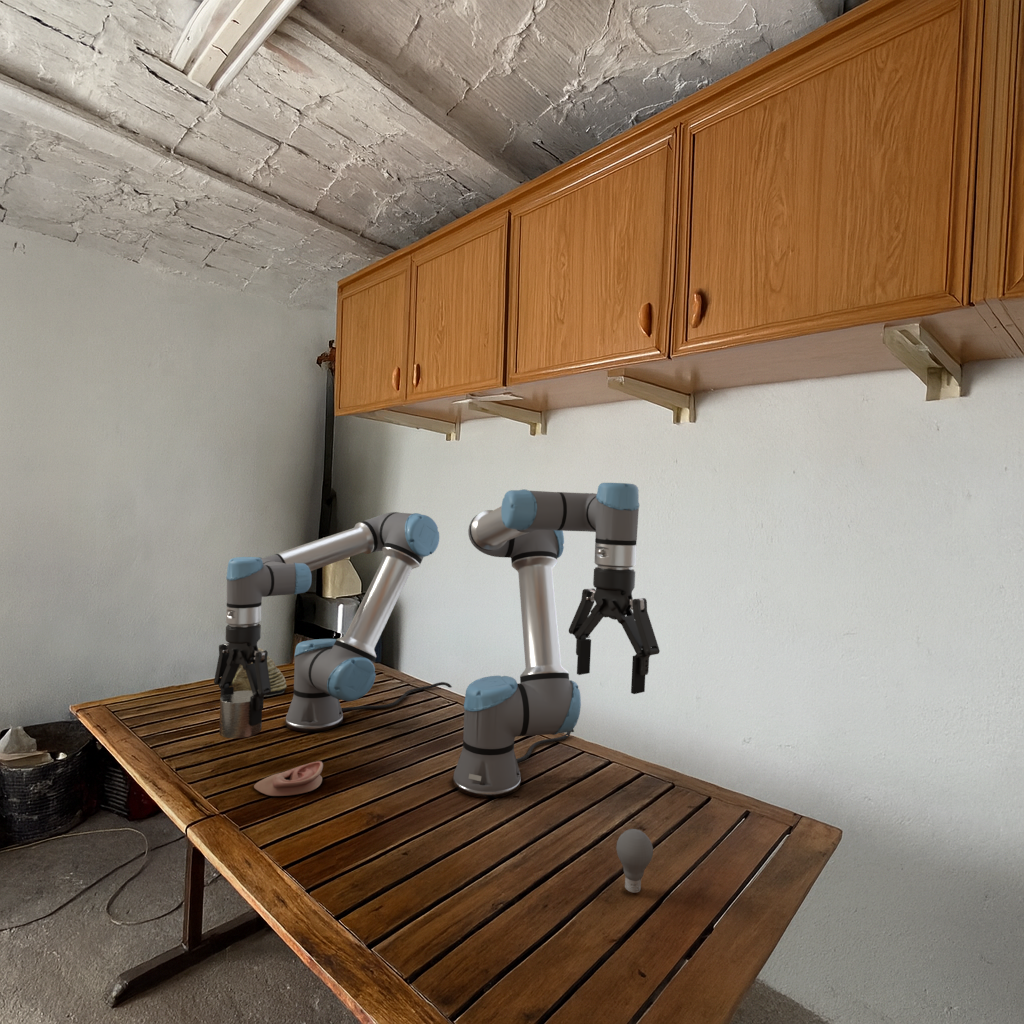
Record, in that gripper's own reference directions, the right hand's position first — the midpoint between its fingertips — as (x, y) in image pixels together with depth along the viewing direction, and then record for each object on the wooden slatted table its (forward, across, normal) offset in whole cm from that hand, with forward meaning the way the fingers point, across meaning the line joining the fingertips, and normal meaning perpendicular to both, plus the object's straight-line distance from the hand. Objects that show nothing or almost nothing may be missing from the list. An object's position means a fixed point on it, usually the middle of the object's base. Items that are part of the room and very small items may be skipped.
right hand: (609, 682), depth 116 cm
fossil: (+32, -124, -27) cm, 131 cm away
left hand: (+21, -74, -44) cm, 89 cm away
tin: (+24, -74, -44) cm, 89 cm away
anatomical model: (+32, -57, -38) cm, 76 cm away
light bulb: (+32, +11, -4) cm, 34 cm away
